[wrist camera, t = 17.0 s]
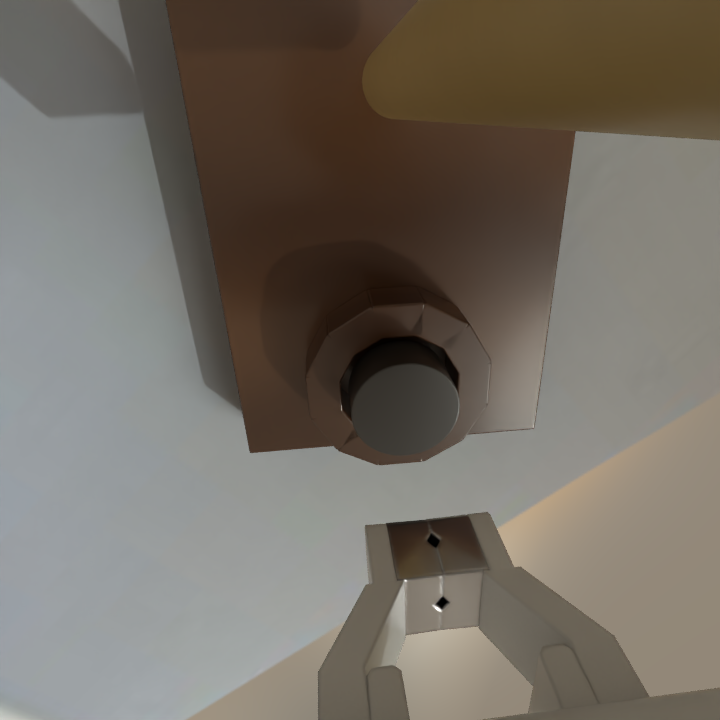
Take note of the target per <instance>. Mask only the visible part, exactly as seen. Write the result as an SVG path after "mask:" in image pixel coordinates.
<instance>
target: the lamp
mask: <svg viewBox="0 0 720 720" xmlns="http://www.w3.org/2000/svg"><path fill="white" fill-rule="evenodd" d="M362 85H363V91H364V95H365V98H366V100H367V102H368V103H369V105H370V106H371V107H372V109H373V110H374V111H375V112H377V113H378V114H379V115H381V116H383V117H386V118H390V119H400V120H415V121H431V122H446V123H461V124H477V125H492V126H507V127H523V128H538V129H553V130H568V131H584V132H599V133H614V134H630V135H645V136H660V137H676V138H691V139H706V140H720V0H418V1H417V2H416V3H415V5H414V6H413V7H412V8H411V9H410V10H409V11H408V13H407V14H406V15H405V16H404V17H403V18H402V19H401V20H400V22H399V23H398V24H397V25H396V26H395V27H394V28H393V30H392V31H391V32H390V33H389V34H388V35H387V36H386V38H385V39H384V40H383V41H382V42H381V43H380V44H379V45H378V47H377V48H376V49H375V50H374V51H373V52H372V53H371V55H370V56H369V58H368V60H367V62H366V64H365V67H364V70H363V76H362Z"/></svg>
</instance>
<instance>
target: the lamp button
mask: <svg viewBox="0 0 720 720" xmlns="http://www.w3.org/2000/svg"><path fill="white" fill-rule="evenodd" d="M348 392H349V401H350V410H351V418H352V423H353V427H354V429H355V431H356V433H357V434H358V436H359V437H360V439H361V440H362V441H363V442H364V443H366V444H367V445H368V446H369V447H371V448H373V449H374V450H376V451H379V452H381V453H384V454H388V455H395V456H407V455H413V454H418V453H421V452H424V451H426V450H428V449H430V448H432V447H434V446H436V445H437V444H439V443H440V442H441V441H442V440H443V439H444V438H445V437H446V436H447V435H448V434H449V433H450V432H451V430H452V429H453V427H454V425H455V423H456V421H457V418H458V415H459V410H460V400H459V394H458V392H457V389H456V387H455V385H454V383H453V381H452V379H451V377H450V375H449V373H448V371H447V369H446V367H445V365H444V363H443V361H442V360H441V359H440V357H439V356H438V355H437V354H436V353H435V352H434V351H433V350H431V349H430V348H428V347H426V346H424V345H422V344H419V343H416V342H412V341H392V342H388V343H384V344H381V345H379V346H377V347H375V348H373V349H371V350H370V351H368V352H367V353H366V354H365V355H364V356H362V357H361V358H360V360H359V361H358V362H357V363H356V365H355V366H354V368H353V370H352V372H351V375H350V378H349V384H348Z"/></svg>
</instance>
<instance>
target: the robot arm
mask: <svg viewBox="0 0 720 720" xmlns="http://www.w3.org/2000/svg"><path fill="white" fill-rule="evenodd" d="M365 540H366V555H367V568H368V580H369V584H367V585H365V587H364V589H363V591H362V593H361V595H360V596H359V598H358V600H357V602H356V604H355V606H354V607H353V609H352V611H351V613H350V615H349V617H348V618H347V620H346V622H345V624H344V626H343V628H342V630H341V631H340V633H339V635H338V637H337V638H336V640H335V642H334V644H333V646H332V648H331V650H330V651H329V653H328V655H327V657H326V659H325V661H324V662H323V664H322V666H321V668H320V670H319V671H318V720H410V719H409V713H408V707H407V701H406V695H405V689H404V683H403V678H402V672H401V670H400V669H398V668H397V667H395V665H396V663H397V660H398V657H399V654H400V652H401V649H402V646H403V644H404V641H405V638H406V637H405V636H406V635H410V634H417V633H424V632H430V631H437V630H445V629H456V628H466V627H477V626H479V629H480V630H481V631H482V632H483V633H484V635H485V636H487V638H488V639H489V640H490V641H491V642H492V643H493V644H494V645H495V646H496V647H497V648H498V649H499V651H500V652H501V653H502V654H503V655H504V656H505V657H506V658H507V659H508V660H509V661H510V662H511V663H512V664H513V665H514V667H515V668H516V669H517V670H518V671H519V672H520V673H521V674H522V675H523V676H524V677H525V678H526V679H527V680H528V681H529V683H530V684H531V685H532V686H533V690H532V695H531V701H530V706H529V711H528V713H527V714H520V715H513V716H506V717H498V718H491V719H483V720H720V688H714V689H707V690H700V691H691V692H685V693H676V694H669V695H662V696H654V697H649V695H648V693H647V692H646V690H645V688H644V686H643V685H642V683H641V681H640V679H639V678H638V676H637V674H636V673H635V671H634V669H633V667H632V666H631V664H630V662H629V660H628V659H627V657H626V655H625V654H624V652H623V650H622V648H621V647H620V645H619V643H618V642H617V640H616V638H615V636H614V635H612V634H611V633H610V632H608V631H607V630H606V629H604V628H603V627H602V626H600V625H599V624H597V623H596V622H595V621H593V620H592V619H591V618H589V617H588V616H587V615H585V614H584V613H583V612H581V611H580V610H578V609H577V608H576V607H574V606H573V605H572V604H570V603H569V602H568V601H566V600H565V599H564V598H562V597H561V596H560V595H558V594H557V593H555V592H554V591H553V590H551V589H550V588H549V587H547V586H546V585H545V584H543V583H542V582H540V581H539V580H538V579H536V578H535V577H534V576H532V575H531V574H530V573H528V572H527V571H526V570H524V569H523V568H522V567H514V566H513V564H512V561H511V559H510V557H509V555H508V553H507V550H506V549H505V546H504V544H503V542H502V540H501V537H500V535H499V534H498V531H497V528H496V526H495V524H494V522H493V520H492V517H491V515H490V514H489V513H488V512H484V513H475V514H467V515H458V516H450V517H442V518H433V519H426V520H418V521H406V522H394V523H386V524H376V525H365Z"/></svg>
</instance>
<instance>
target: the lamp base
mask: <svg viewBox="0 0 720 720" xmlns="http://www.w3.org/2000/svg"><path fill="white" fill-rule="evenodd" d="M165 1H166V6H167V11H168V17H169V22H170V28H171V33H172V38H173V44H174V49H175V54H176V60H177V65H178V70H179V76H180V81H181V86H182V92H183V97H184V102H185V108H186V113H187V119H188V124H189V129H190V135H191V140H192V145H193V151H194V156H195V161H196V167H197V172H198V177H199V183H200V188H201V194H202V199H203V204H204V210H205V215H206V220H207V226H208V231H209V236H210V242H211V247H212V252H213V258H214V263H215V268H216V274H217V279H218V285H219V290H220V295H221V301H222V306H223V311H224V317H225V322H226V327H227V333H228V338H229V343H230V349H231V354H232V359H233V365H234V370H235V376H236V381H237V386H238V392H239V397H240V402H241V408H242V413H243V418H244V424H245V429H246V434H247V440H248V445H249V451H250V453H257V452H268V451H280V450H292V449H303V448H315V447H327V446H334V447H335V448H336V449H338V451H340V452H343V453H346V454H348V455H351V456H354V457H356V458H359V459H362V460H365V461H367V462H370V463H373V464H376V465H378V464H379V465H388V464H400V463H411V462H421V461H426V460H427V459H429V458H431V457H433V456H435V455H436V454H438V453H440V452H442V451H444V450H446V449H447V448H449V447H451V446H453V445H455V444H457V443H458V442H460V441H462V440H463V439H464V438H465V436H466V435H467V434H479V433H490V432H502V431H514V430H525V429H534V427H535V419H536V412H537V405H538V398H539V391H540V383H541V376H542V369H543V362H544V355H545V347H546V340H547V333H548V326H549V319H550V311H551V304H552V297H553V290H554V283H555V275H556V268H557V261H558V254H559V247H560V239H561V232H562V225H563V218H564V210H565V203H566V196H567V189H568V182H569V174H570V167H571V160H572V153H573V146H574V138H575V131H568V130H553V129H538V128H523V127H507V126H492V125H477V124H461V123H446V122H431V121H415V120H400V119H390V118H386V117H383V116H381V115H379V114H378V113H377V112H375V111H374V110H373V109H372V107H371V106H370V105H369V103H368V102H367V100H366V98H365V95H364V91H363V85H362V76H363V70H364V67H365V64H366V62H367V60H368V58H369V56H370V55H371V53H372V52H373V51H374V50H375V49H376V48H377V47H378V45H379V44H380V43H381V42H382V41H383V40H384V39H385V38H386V36H387V35H388V34H389V33H390V32H391V31H392V30H393V28H394V27H395V26H396V25H397V24H398V23H399V22H400V20H401V19H402V18H403V17H404V16H405V15H406V14H407V13H408V11H409V10H410V9H411V8H412V7H413V6H414V5H415V3H416V2H417V1H418V0H165ZM392 341H412V342H416V343H419V344H422V345H424V346H426V347H428V348H430V349H431V350H433V351H434V352H435V353H436V354H437V355H438V356H439V357H440V359H441V360H442V361H443V363H444V365H445V367H446V369H447V371H448V373H449V375H450V377H451V379H452V381H453V383H454V385H455V387H456V389H457V392H458V394H459V400H460V410H459V415H458V418H457V421H456V423H455V425H454V427H453V429H452V430H451V432H450V433H449V434H448V435H447V436H446V437H445V438H444V439H443V440H442V441H441V442H440V443H439V444H437V445H436V446H434V447H432V448H430V449H428V450H426V451H424V452H421V453H418V454H413V455H407V456H395V455H388V454H384V453H381V452H379V451H376V450H374V449H373V448H371V447H369V446H368V445H367V444H366V443H364V442H363V441H362V440H361V439H360V437H359V436H358V434H357V433H356V431H355V429H354V427H353V423H352V418H351V410H350V401H349V392H348V384H349V378H350V375H351V372H352V370H353V368H354V366H355V365H356V363H357V362H358V361H359V360H360V358H361V357H362V356H364V355H365V354H366V353H367V352H368V351H370V350H371V349H373V348H375V347H377V346H379V345H381V344H384V343H388V342H392Z"/></svg>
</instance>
